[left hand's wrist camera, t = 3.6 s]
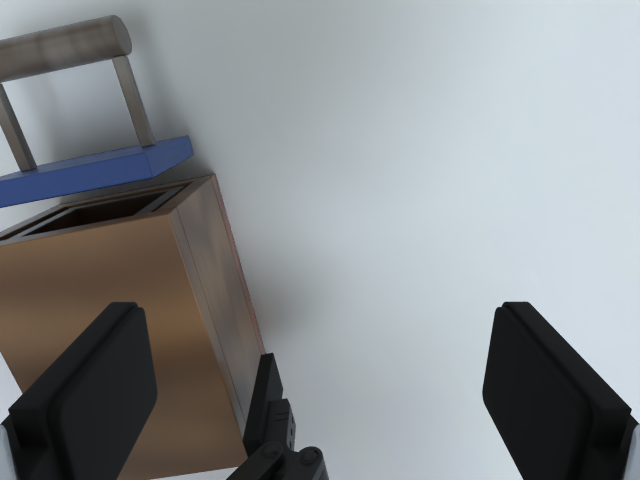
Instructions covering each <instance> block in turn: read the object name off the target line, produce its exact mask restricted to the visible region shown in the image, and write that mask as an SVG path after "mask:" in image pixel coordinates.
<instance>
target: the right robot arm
mask: <svg viewBox="0 0 640 480" xmlns="http://www.w3.org/2000/svg"><path fill="white" fill-rule="evenodd" d="M282 394H283V387H282V383H281V379H280V376H279V372H278V369H277V365H276V361H275V358H274V354H273V353H269V354H263V355H261V357H260V361H259V366H258V371H257V375H256V380H255V385H254V389H253V394H252V399H251V403H250V408H249V413H248V417H247V422H246V426H245V431H244V436H243V440H242V442H243V445H244V448H245V451H246V454H247V457H248V459H247V460H246V461H245V462H244V463H243V464H242V465H240V466H239V467H238V468H237V469H236V470H235V471H234V472H233V473H232V474H231V475H230V476H229V477H228V478H227V479H226V480H329V478H328V474H327V470H326V466H325V462H324V458H323V454H322V452H321V450H320V449H319V448H317V447H311V446H310V447H306V448H304V449H302V450H300V451H299V452H295V451H294V443H295V429H296V425H295V421H294V417H293V414H292V410H291V406H290V403H289V401H288V399H287V398H286V399H282Z"/></svg>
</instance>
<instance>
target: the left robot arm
mask: <svg viewBox="0 0 640 480" xmlns="http://www.w3.org/2000/svg"><path fill="white" fill-rule="evenodd" d="M157 394H158V391H157V384H156V377H155V371H154V365H153V359H152V353H151V346H150V340H149V334H148V328H147V322H146V315H145V311H144V309H143V308H142V307H138V305H137V303H136V302H111V303H110V304H109V305H108V306H107V307H106V308H105V309H104V310H103V311H102V312H101V313H100V314H99V315H98V316H97V317H96V318H95V320H94V321H93V322H92V323H91V324H90V325H89V326H88V327H87V328H86V329H85V330H84V331H83V332H82V333H81V334H80V335H79V336H78V337H77V338H76V339H75V340H74V341H73V342H72V343H71V344H70V346H69V347H68V348H67V349H66V350H65V351H64V352H63V353H62V354H61V355H60V356H59V357H58V358H57V359H56V360H55V361H54V362H53V363H52V364H51V365H50V366H49V367H48V368H47V369H46V371H45V372H44V373H43V374H42V375H41V376H40V377H39V378H38V379H37V380H36V381H35V382H34V383H33V384H32V385H31V386H30V387H29V388H28V389H27V390H26V391H25V392H24V393H23V394H22V395H21V397H20V398H19V399H18V400H17V401H16V402H15V403H14V404H13V405H12V406H11V407H10V408H9V409H8V410H9V413H10V415H9V416H8V417H7V418H6V419H5V420H4V421H3V422H2V423H1V424H0V480H117V478H118V476H119V474H120V472H121V470H122V468H123V466H124V464H125V462H126V460H127V458H128V457H129V455H130V453H131V451H132V449H133V447H134V445H135V443H136V441H137V439H138V437H139V435H140V433H141V431H142V429H143V427H144V425H145V424H146V422H147V420H148V418H149V416H150V414H151V412H152V410H153V408H154V406H155V404H156V401H157ZM482 394H483V401H484V404H485V406H486V408H487V410H488V412H489V414H490V416H491V418H492V420H493V422H494V424H495V425H496V427H497V429H498V431H499V433H500V435H501V437H502V439H503V441H504V443H505V445H506V447H507V449H508V451H509V453H510V455H511V457H512V458H513V460H514V462H515V464H516V466H517V468H518V470H519V472H520V474H521V476H522V478H523V480H640V424H639V423H638V422H637V421H636V420H635V419H634V418H633V417H632V416H631V415H630V413H631V410H632V409H631V408H630V407H629V406H628V405H627V404H626V403H625V402H624V401H623V400H622V399H621V398H620V397H619V395H618V394H617V393H616V392H615V391H614V390H613V389H612V388H611V387H610V386H609V385H608V384H607V383H606V382H605V381H604V380H603V379H602V378H601V377H600V376H599V375H598V374H597V373H596V372H595V371H594V369H593V368H592V367H591V366H590V365H589V364H588V363H587V362H586V361H585V360H584V359H583V358H582V357H581V356H580V355H579V354H578V353H577V352H576V351H575V350H574V349H573V348H572V347H571V346H570V344H569V343H568V342H567V341H566V340H565V339H564V338H563V337H562V336H561V335H560V334H559V333H558V332H557V331H556V330H555V329H554V328H553V327H552V326H551V325H550V324H549V323H548V322H547V321H546V320H545V318H544V317H543V316H542V315H541V314H540V313H539V312H538V311H537V310H536V309H535V308H534V307H533V306H532V305H531V304H530V303H529V302H504V303H503V305H502V307H498V308H497V309H496V311H495V315H494V322H493V328H492V334H491V340H490V346H489V353H488V359H487V365H486V371H485V377H484V384H483V391H482Z"/></svg>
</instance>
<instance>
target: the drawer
mask: <svg viewBox="0 0 640 480" xmlns="http://www.w3.org/2000/svg"><path fill="white" fill-rule="evenodd" d="M131 51H132V44H131V39H130V36H129V33H128V31H127V29H126V27H125V25H124V23H123V22H122V20H121V19H120V18H119V17H118V16H116V15H111V16H106V17H102V18H98V19H93V20H89V21H84V22H80V23H75V24H71V25H66V26H62V27H57V28H53V29H48V30H44V31H39V32H35V33H30V34H26V35H22V36H17V37H13V38H8V39H4V40H0V125H1V127H2V130H3V132H4V134H5V136H6V139H7V141H8V143H9V146H10V148H11V150H12V152H13V155H14V157H15V159H16V162H17V164H18V166H19V168H20V171H19V172H15V173H12V174H8V175H5V176H1V177H0V208H3V207H8V206H13V205H18V204H23V203H28V202H34V201H39V200H44V199H49V198H54V197H59V196H64V195H69V194H74V193H79V192H85V191H90V190H95V189H100V188H105V187H110V186H115V185H120V184H125V183H131V182H136V181H141V180H146V179H151V178H154V177H155V176H157V175H159V174H161V173H163V172H164V171H166V170H168V169H170V168H172V167H173V166H175V165H177V164H179V163H181V162H182V161H184V160H186V159H188V158H190V157H191V156H193V155H194V153H193V149H192V146H191V142H190V139H189V136H182V137H177V138H172V139H167V140H162V141H157V142H155V141H154V138H153V135H152V132H151V129H150V125H149V122H148V119H147V116H146V113H145V110H144V107H143V104H142V100H141V97H140V94H139V91H138V88H137V85H136V82H135V79H134V76H133V72H132V69H131V66H130V63H129V60H128V57H127V56H126V55H129V54H130V53H131ZM108 59H112V61H113V64H114V67H115V70H116V73H117V76H118V79H119V82H120V85H121V88H122V91H123V94H124V97H125V100H126V103H127V106H128V109H129V112H130V115H131V118H132V121H133V124H134V127H135V130H136V133H137V136H138V139H139V142H140V145H138V146H133V147H128V148H123V149H118V150H113V151H108V152H103V153H98V154H93V155H88V156H83V157H78V158H73V159H68V160H63V161H58V162H53V163H48V164H43V165H39V166H37V165H36V163H35V161H34V158H33V156H32V154H31V151H30V149H29V147H28V144H27V142H26V139H25V137H24V135H23V132H22V130H21V128H20V125H19V123H18V121H17V118H16V116H15V113H14V111H13V109H12V106H11V104H10V102H9V99H8V97H7V94H6V92H5V90H4V87H3V85H2V84H1V83H2V82H6V81H11V80H16V79H20V78H25V77H29V76H34V75H39V74H43V73H48V72H53V71H57V70H62V69H66V68H71V67H76V66H80V65H85V64H89V63H94V62H99V61H103V60H108ZM183 189H185V187H184V186H181V187H176V188H171V189H166V190H160V191H155V192H150V193H145V194H140V195H135V196H129V197H124V198H119V199H114V200H109V201H104V202H98V203H93V204H88V205H83V206H78V207H73V208H70V209H68V210H66V211H64V212H62V213H60V214H58V215H56V216H54V217H52V218H50V219H48V220H46V221H43V222H41V223H39V224H37V225H35V226H33V227H31V228H29V229H27V230H25V231H23V232H21V233H19V234H17V235H15V236H13V237H11V238H9V239H13V238H18V237H23V236H29V235H34V234H39V233H44V232H50V231H55V230H60V229H65V228H71V227H76V226H81V225H86V224H92V223H97V222H102V221H107V220H113V219H118V218H123V217H128V216H134V215H139V214H144V213H150V212H155V211H156V210H157V209H159V208H160V207H161V206H163V205H164V204H165V203H166V202H168V201H169V200H170V199H172V198H173V197H174V196H176V195H177V194H178V193H180V192H181V191H182V190H183ZM7 240H8V239H7Z"/></svg>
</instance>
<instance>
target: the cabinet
mask: <svg viewBox="0 0 640 480" xmlns="http://www.w3.org/2000/svg"><path fill="white" fill-rule="evenodd" d="M181 186H184V187H185V189H183V190H182V191H181V192H180V193H178V194H177V195H176V196H174V197H173V198H172V199H170V200H169V201H168V202H166V203H165V204H164V205H163V206H161V207H160V208H159V209H157V210H156V211H155V212H150V213H144V214H139V215H134V216H128V217H123V218H118V219H113V220H107V221H102V222H97V223H92V224H86V225H81V226H76V227H71V228H65V229H60V230H55V231H50V232H44V233H39V234H34V235H29V236H23V237H18V238H13V239H9V238H11V237H13V236H15V235H17V234H19V233H21V232H23V231H25V230H27V229H29V228H31V227H33V226H35V225H37V224H39V223H41V222H43V221H46V220H48V219H50V218H52V217H54V216H56V215H58V214H60V213H62V212H64V211H66V210H68V209H70V208H73V207H78V206H83V205H88V204H93V203H98V202H104V201H109V200H114V199H119V198H124V197H129V196H135V195H140V194H145V193H150V192H155V191H160V190H166V189H171V188H176V187H181ZM7 239H8V240H7ZM111 302H136V303H137V305H138V307H142V308H143V309H144V311H145V315H146V322H147V328H148V334H149V340H150V346H151V353H152V359H153V365H154V371H155V377H156V384H157V391H158V394H157V401H156V404H155V406H154V408H153V410H152V412H151V414H150V416H149V418H148V420H147V422H146V424H145V425H144V427H143V429H142V431H141V433H140V435H139V437H138V439H137V441H136V443H135V445H134V447H133V449H132V451H131V453H130V455H129V457H128V458H127V460H126V462H125V464H124V466H123V468H122V470H121V472H120V474H119V476H118V478H117V480H150V479H157V478H164V477H171V476H178V475H185V474H191V473H198V472H205V471H212V470H219V469H225V468H232V467H239V466H240V465H242V464H243V463H244V462H245V461H246V460H247V459H248V457H247V454H246V451H245V448H244V445H243V442H242V440H243V436H244V431H245V426H246V422H247V417H248V413H249V408H250V403H251V399H252V394H253V389H254V385H255V380H256V375H257V371H258V366H259V361H260V357H261V355H263V354H266V353H265V350H264V346H263V343H262V339H261V335H260V332H259V328H258V325H257V321H256V318H255V314H254V310H253V307H252V303H251V300H250V296H249V292H248V289H247V285H246V282H245V278H244V275H243V271H242V267H241V264H240V260H239V257H238V253H237V250H236V246H235V242H234V239H233V235H232V232H231V228H230V225H229V221H228V217H227V214H226V210H225V207H224V203H223V200H222V196H221V192H220V189H219V185H218V182H217V178H216V175H215V174H214V175H209V176H204V177H199V178H194V179H189V180H184V181H178V182H173V183H168V184H163V185H158V186H153V187H148V188H142V189H137V190H132V191H127V192H122V193H117V194H112V195H106V196H101V197H96V198H91V199H86V200H81V201H76V202H70V203H65V204H59V205H57V206H55V207H53V208H51V209H49V210H47V211H45V212H43V213H41V214H38V215H36V216H34V217H32V218H30V219H27V220H25V221H23V222H21V223H19V224H17V225H14V226H12V227H10V228H8V229H6V230H4V231H1V232H0V352H1V354H2V356H3V358H4V359H5V361H6V363H7V365H8V367H9V369H10V371H11V373H12V374H13V376H14V378H15V380H16V382H17V384H18V386H19V388H20V389H21V391H22V393H24V392H25V391H26V390H27V389H28V388H29V387H30V386H31V385H32V384H33V383H34V382H35V381H36V380H37V379H38V378H39V377H40V376H41V375H42V374H43V373H44V372H45V371H46V369H47V368H48V367H49V366H50V365H51V364H52V363H53V362H54V361H55V360H56V359H57V358H58V357H59V356H60V355H61V354H62V353H63V352H64V351H65V350H66V349H67V348H68V347H69V346H70V344H71V343H72V342H73V341H74V340H75V339H76V338H77V337H78V336H79V335H80V334H81V333H82V332H83V331H84V330H85V329H86V328H87V327H88V326H89V325H90V324H91V323H92V322H93V321H94V320H95V318H96V317H97V316H98V315H99V314H100V313H101V312H102V311H103V310H104V309H105V308H106V307H107V306H108V305H109V304H110V303H111Z"/></svg>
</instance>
